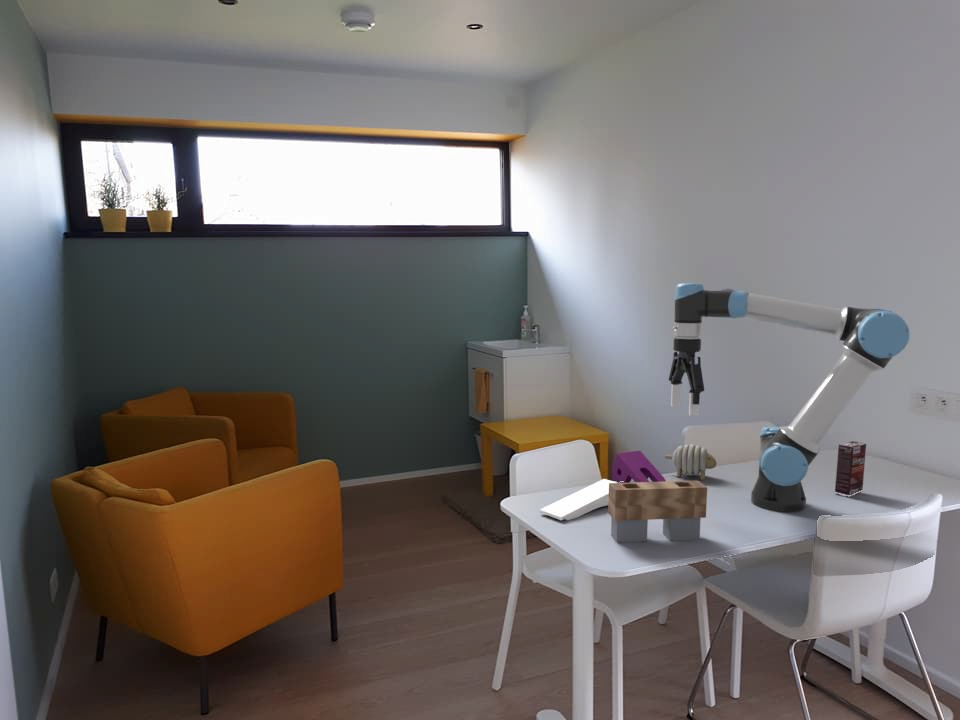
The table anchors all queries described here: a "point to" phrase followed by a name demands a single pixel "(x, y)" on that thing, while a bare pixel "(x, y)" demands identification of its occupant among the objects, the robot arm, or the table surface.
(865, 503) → the table surface
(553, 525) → the table surface
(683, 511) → the walnut rail
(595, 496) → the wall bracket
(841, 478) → the supplement box
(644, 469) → the mounting bracket
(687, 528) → the peg blocks
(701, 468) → the toy sheep
